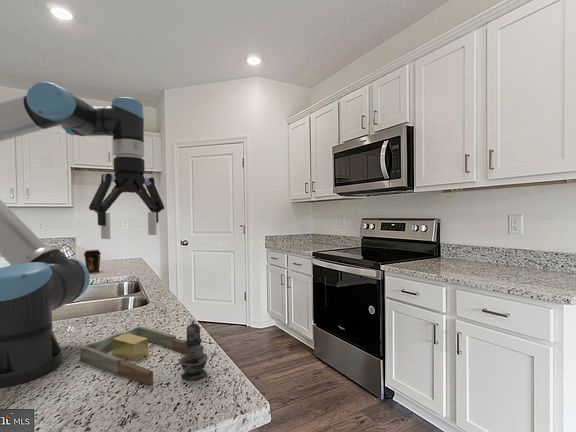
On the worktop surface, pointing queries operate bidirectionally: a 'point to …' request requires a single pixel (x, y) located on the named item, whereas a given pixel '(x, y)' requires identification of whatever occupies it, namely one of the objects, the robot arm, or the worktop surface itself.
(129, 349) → the tan wooden cube
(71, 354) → the worktop surface
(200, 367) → the salt shaker
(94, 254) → the coffee cup
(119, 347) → the chip
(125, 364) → the frame
